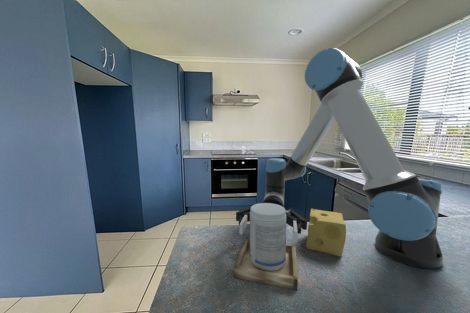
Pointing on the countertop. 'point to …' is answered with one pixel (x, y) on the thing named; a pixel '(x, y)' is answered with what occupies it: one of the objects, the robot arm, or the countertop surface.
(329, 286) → the countertop surface
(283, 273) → the tray
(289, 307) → the countertop surface
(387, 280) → the countertop surface
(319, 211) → the cheese
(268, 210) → the supplement tub
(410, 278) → the countertop surface
